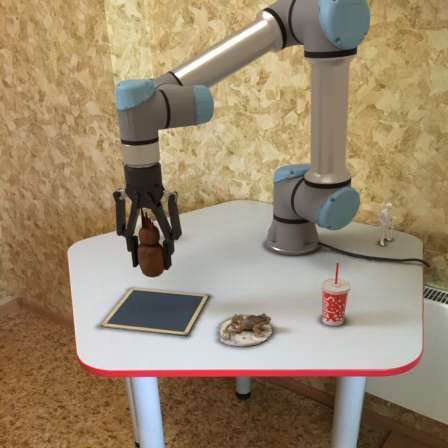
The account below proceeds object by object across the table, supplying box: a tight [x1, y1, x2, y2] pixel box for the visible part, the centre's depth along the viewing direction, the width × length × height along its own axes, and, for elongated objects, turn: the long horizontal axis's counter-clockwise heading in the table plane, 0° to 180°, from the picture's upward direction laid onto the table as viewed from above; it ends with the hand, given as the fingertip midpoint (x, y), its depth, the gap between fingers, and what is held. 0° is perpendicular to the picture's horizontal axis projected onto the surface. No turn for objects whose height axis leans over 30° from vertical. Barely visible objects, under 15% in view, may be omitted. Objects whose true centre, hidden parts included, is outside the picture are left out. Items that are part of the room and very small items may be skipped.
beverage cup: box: [320, 262, 351, 327], centre depth 115 cm, size 6×6×14 cm
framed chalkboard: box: [100, 287, 210, 337], centre depth 124 cm, size 20×18×1 cm
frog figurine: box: [219, 313, 273, 348], centre depth 115 cm, size 12×12×4 cm
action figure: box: [376, 202, 398, 247], centre depth 152 cm, size 6×4×12 cm, turn 123°
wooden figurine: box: [137, 208, 165, 278], centre depth 116 cm, size 7×6×15 cm
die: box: [133, 214, 159, 244], centre depth 158 cm, size 8×9×10 cm
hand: (152, 266), depth 118 cm, fingers closed on wooden figurine, 7 cm apart
